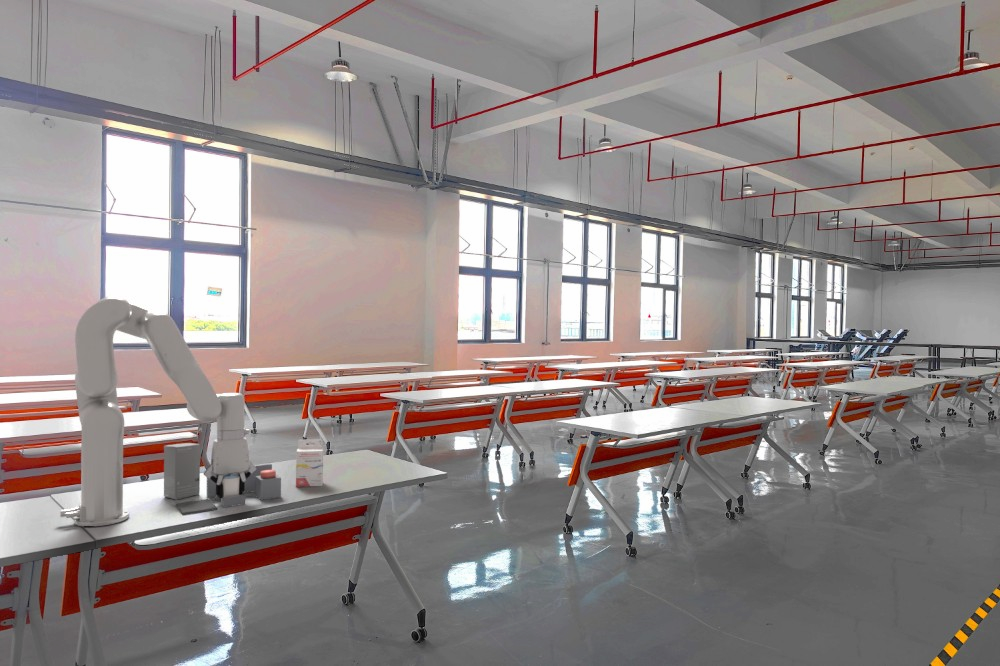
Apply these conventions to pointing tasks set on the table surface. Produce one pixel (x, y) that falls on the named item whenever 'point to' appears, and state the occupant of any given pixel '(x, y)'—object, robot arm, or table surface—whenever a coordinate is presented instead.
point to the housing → (250, 487)
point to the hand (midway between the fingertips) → (230, 495)
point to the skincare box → (181, 470)
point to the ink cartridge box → (309, 463)
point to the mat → (196, 506)
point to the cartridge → (230, 485)
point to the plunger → (268, 474)
